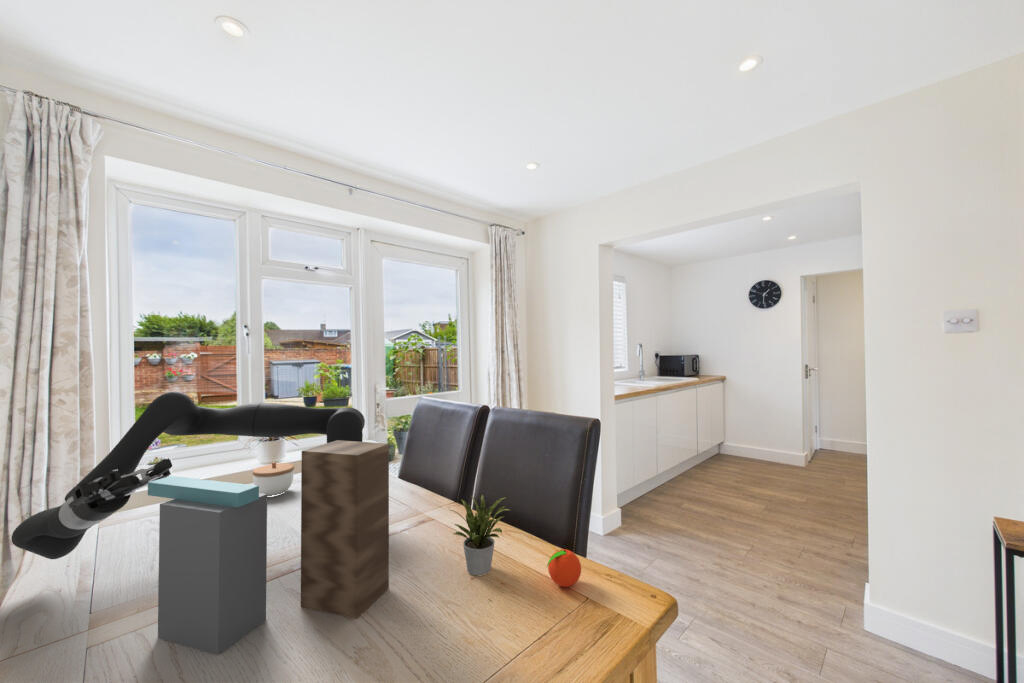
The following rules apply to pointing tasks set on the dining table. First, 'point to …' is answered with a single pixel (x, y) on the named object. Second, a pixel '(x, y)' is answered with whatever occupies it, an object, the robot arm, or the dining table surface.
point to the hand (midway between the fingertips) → (144, 468)
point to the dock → (211, 572)
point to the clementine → (564, 568)
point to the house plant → (479, 537)
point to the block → (204, 491)
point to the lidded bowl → (273, 478)
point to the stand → (344, 526)
